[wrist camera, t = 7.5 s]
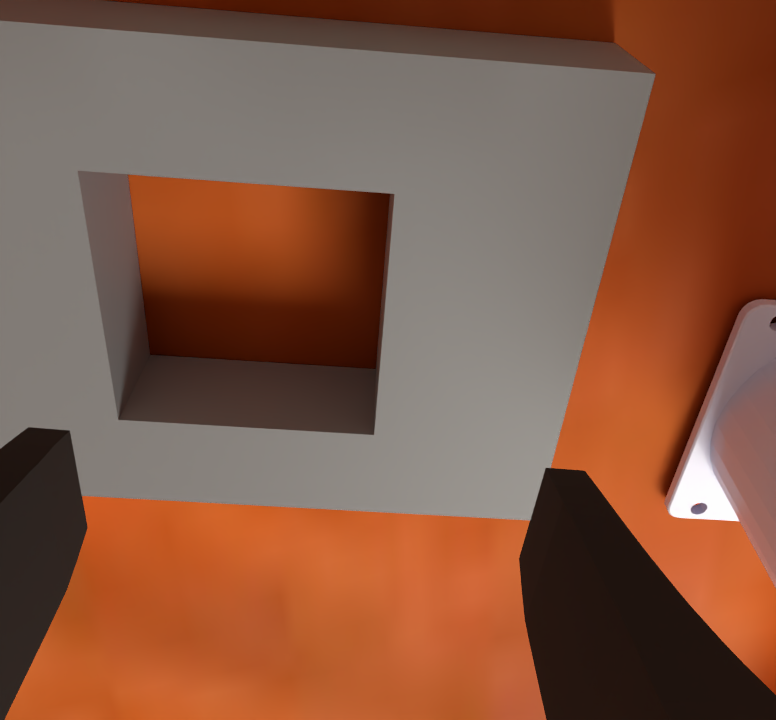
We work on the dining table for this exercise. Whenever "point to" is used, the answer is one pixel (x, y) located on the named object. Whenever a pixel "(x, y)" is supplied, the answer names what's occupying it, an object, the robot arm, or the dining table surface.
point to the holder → (313, 170)
